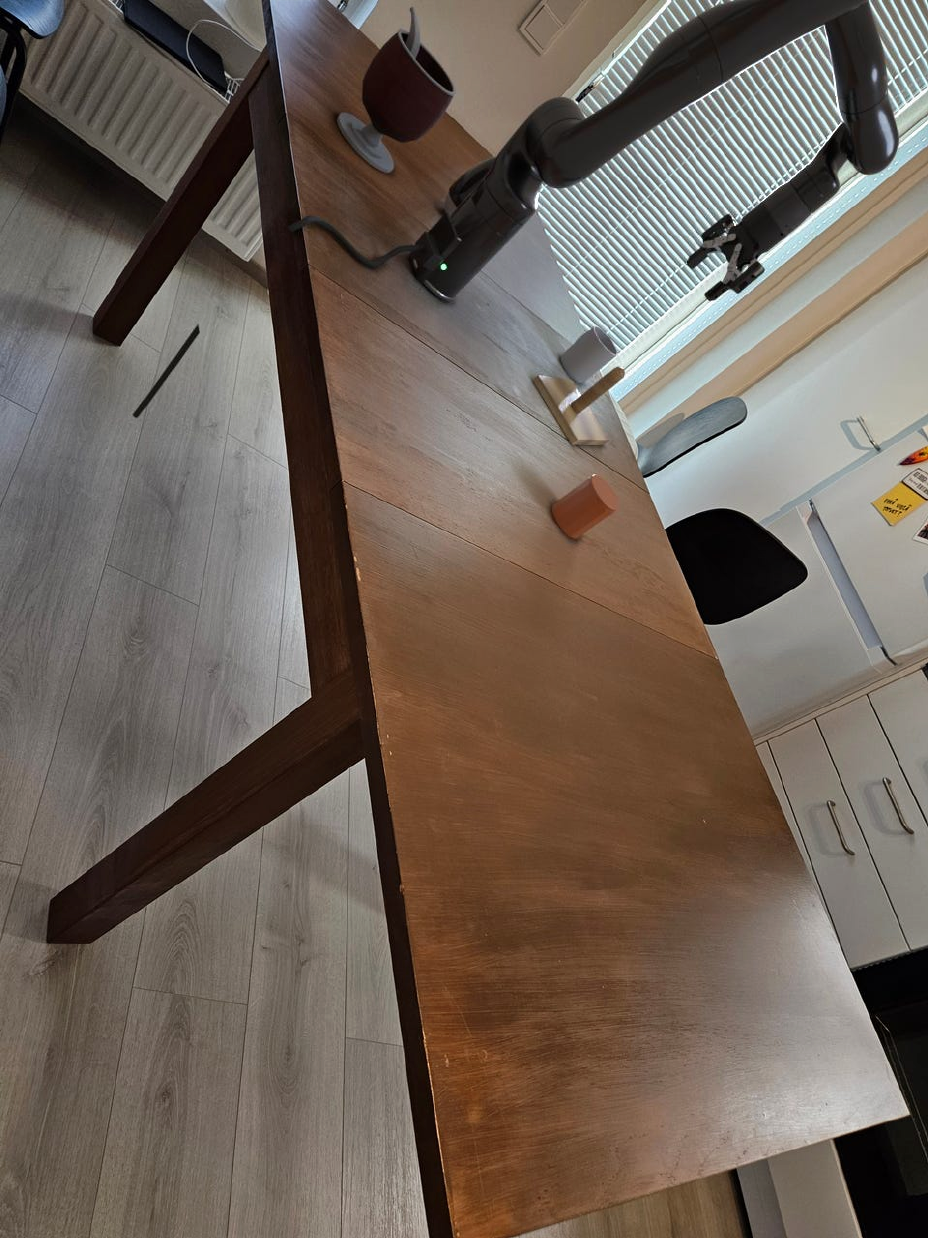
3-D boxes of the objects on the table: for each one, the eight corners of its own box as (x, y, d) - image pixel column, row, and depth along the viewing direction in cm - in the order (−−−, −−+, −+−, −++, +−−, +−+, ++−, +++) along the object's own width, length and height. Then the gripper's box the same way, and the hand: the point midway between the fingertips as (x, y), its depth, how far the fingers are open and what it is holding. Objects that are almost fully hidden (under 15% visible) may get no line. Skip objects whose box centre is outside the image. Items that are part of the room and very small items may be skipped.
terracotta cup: (560, 533, 121) (601, 504, 116) (546, 499, 123) (586, 469, 119) (584, 542, 125) (624, 514, 121) (570, 509, 128) (610, 480, 124)
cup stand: (571, 444, 142) (628, 399, 135) (532, 380, 144) (586, 332, 137) (603, 445, 153) (657, 403, 146) (566, 385, 155) (618, 341, 148)
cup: (562, 371, 158) (597, 340, 153) (555, 340, 164) (588, 310, 159) (585, 390, 162) (620, 361, 157) (577, 360, 168) (610, 331, 163)
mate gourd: (407, 183, 148) (482, 93, 137) (360, 165, 136) (438, 65, 125) (364, 117, 149) (435, 22, 138) (315, 93, 138) (388, -12, 127)
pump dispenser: (474, 252, 155) (531, 192, 147) (434, 214, 150) (491, 149, 142) (475, 231, 162) (530, 172, 154) (437, 193, 157) (491, 130, 149)
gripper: (750, 178, 140) (673, 246, 149) (786, 233, 134) (703, 300, 143) (767, 200, 145) (691, 264, 154) (802, 254, 140) (721, 317, 148)
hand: (697, 281), depth 148 cm, fingers open, 8 cm apart
